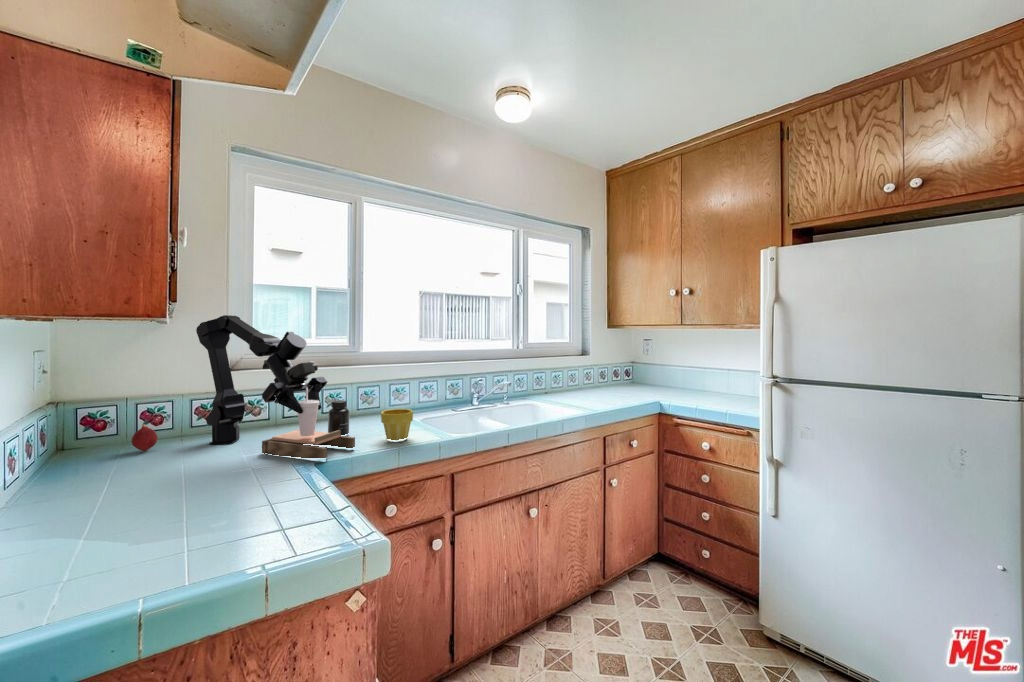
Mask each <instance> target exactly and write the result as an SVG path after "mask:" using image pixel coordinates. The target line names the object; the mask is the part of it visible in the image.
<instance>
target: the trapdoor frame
mask: <svg viewBox="0 0 1024 682" xmlns="http://www.w3.org/2000/svg"><path fill="white" fill-rule="evenodd" d="M318 445H331V446H338V447H346V448H353V447H355V448H356V436H355V437H354V436H349V435H348V436H341V437H338V438H335V439H332V440H329V441H326V442H323V443H321V444H318ZM262 453H264V454H265V453H268V454H272V455H279V456H291V457H301V458H326V457H327V458H328V448H327V447H319V446H311V445H303V444H295V443H286V442H278V441H275V440H272V437H271V438H268V439H265V440H261V454H262ZM268 454H267V455H268Z"/></svg>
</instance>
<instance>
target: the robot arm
mask: <svg viewBox="0 0 1024 682" xmlns="http://www.w3.org/2000/svg"><path fill="white" fill-rule="evenodd" d="M195 331H196V335H197V337H198V340H199V343H200V344H201V345H202V346H203V347H204V349H206V351H207V354H208V359H209V363H210V364H209V365H210V368H211V374H212V379H213V382H214V387H215V389H214V390H215V396H214V397H213V401H212V402H211V403H212V404H211V405H212V409H211V411H210V412H209V413H208V415H207V416H206V417H205V422H206V425H207V426H211V442H209V445H225V444H224V443H232V444H234V443H235V442H237V441H239V440H240V439H241V437H240V425H239V424H238V422H242V421H244V420H243V419H244V415H245V412H246V406H247V405H246V403H245V398H244V394H243V393H238V392H237V391H236V389H235V385H234V380H233V376H232V370H231V366H230V361H229V360H230V359H229V356H228V355H229V354H228V351H227V345H228V344H229V341H230V335H235V336H236V337H237V338H239V339H240V340H242V341H243V342H245V343H247V344H248V347H249V350H250V351H251V352H252V353H253V354H254V355H255V357H256V356H257V357H259V358H260V357H261V358H262V357H268V358H266V359H265V360H263V363H262V369H263V370H268V369H269V370H270V371H271V373H272V374H273V376H274V377H275V378H274V379H273V381H274V382H270V383H269V384H268V386H267V387H266V388H265V389H264V391H263V392H262V394H261V398H262V400H263V401H264V402H265V403H272V402H274V404H279V405H281V406H283V407H285V408H288V409H290V410H292V411H294V412H296V413H297V414H298V413H300V414H302V412H303V410H302V408H301V406H300V404H299V403H298V401H299V400H297V397H296V396H295V393H297V392H299V393H300V392H304V394H306V387H308V400H318V401H320V402H319V404H320V405H318V411H320V410H321V409H322V404H321V399H320V392H321V391H322V390H323V388H324V387H325V386H326V385H327V383H329V382H328V380H327V379H326V378H325V377H324V376H318V377H312V378H311V379H310V380H309V381H308V382H307V383H305V382H306V381H307V380H308V379H309V377H308V376H310V375H313V374H315V373H316V371H318V369H319V368H318V364H317V363H316V362H315V361H314V360H309V361H308V362H301V363H297V364H296V365H294V364H293V363H292V362H291V361H294V360H296V359H297V358H298V356H299V355H300V354H301V353H302V352H303V350H304V349H305V348H306V347H307V342H306V340H305V338H303V337H302V336H300V335H298V334H296V333H295V332H294V331H286V332H285V334H284V335H283V337H282V338H281V339H280V338H279V337H277V336H275V335H271V334H268V333H267V334H266V333H264V332H263V333H262V332H260V331H259V330H258V329H256V328H254V327H253V326H251V325H250V324H248V322H245V321H244V320H242V319H241V317H239V316H237V315H230V314H224V315H221V316H218V317H217V318H214V319H209V320H206V321H202V322H200V323H199V325H197V327H196V329H195ZM304 400H306V395H305V396H304ZM239 438H240V439H239ZM238 439H239V440H238ZM236 440H237V441H236ZM233 442H234V443H233Z"/></svg>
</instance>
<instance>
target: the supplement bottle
mask: <svg viewBox="0 0 1024 682" xmlns="http://www.w3.org/2000/svg"><path fill="white" fill-rule="evenodd" d="M327 415H328V416H327V433H331V432H334V431H337V430H341V435H345V434H348V433H349V434H350V410H349V409H348V408H347V400H332V401H331V409H329V411H328V414H327Z"/></svg>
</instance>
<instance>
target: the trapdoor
mask: <svg viewBox="0 0 1024 682" xmlns="http://www.w3.org/2000/svg"><path fill="white" fill-rule="evenodd" d="M338 437H341V430H337V431H334V432H331V433H328V432H324V431H317V430H315V433H314V435H311V436H301V435H300V429H295V430H293V431H289V432H285V433H281V434H279V435H275V436H272V437H271V438H272V440H275V441H278V442H286V443H295V444H313V445H318V444H321V443H323V442H326V441H329V440H332V439H335V438H338Z"/></svg>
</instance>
